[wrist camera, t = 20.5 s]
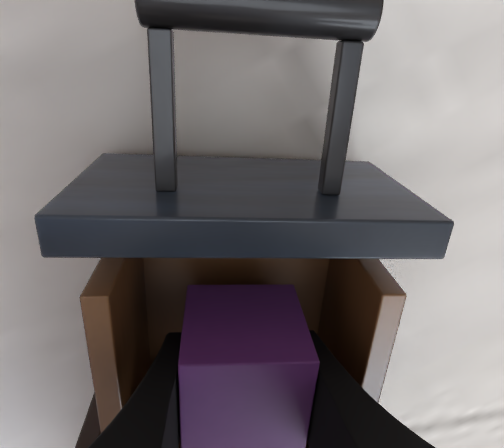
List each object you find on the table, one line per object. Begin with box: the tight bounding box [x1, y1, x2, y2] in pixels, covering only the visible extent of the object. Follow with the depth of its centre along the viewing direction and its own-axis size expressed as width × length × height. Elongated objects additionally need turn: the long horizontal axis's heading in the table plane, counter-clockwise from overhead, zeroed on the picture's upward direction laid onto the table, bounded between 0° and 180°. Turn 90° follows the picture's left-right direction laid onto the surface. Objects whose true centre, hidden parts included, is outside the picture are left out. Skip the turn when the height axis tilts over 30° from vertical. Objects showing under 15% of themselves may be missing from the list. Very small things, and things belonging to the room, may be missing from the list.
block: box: [178, 285, 320, 448], centre depth 13 cm, size 4×4×4 cm
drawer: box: [35, 0, 454, 448], centre depth 14 cm, size 18×11×6 cm, turn 177°
